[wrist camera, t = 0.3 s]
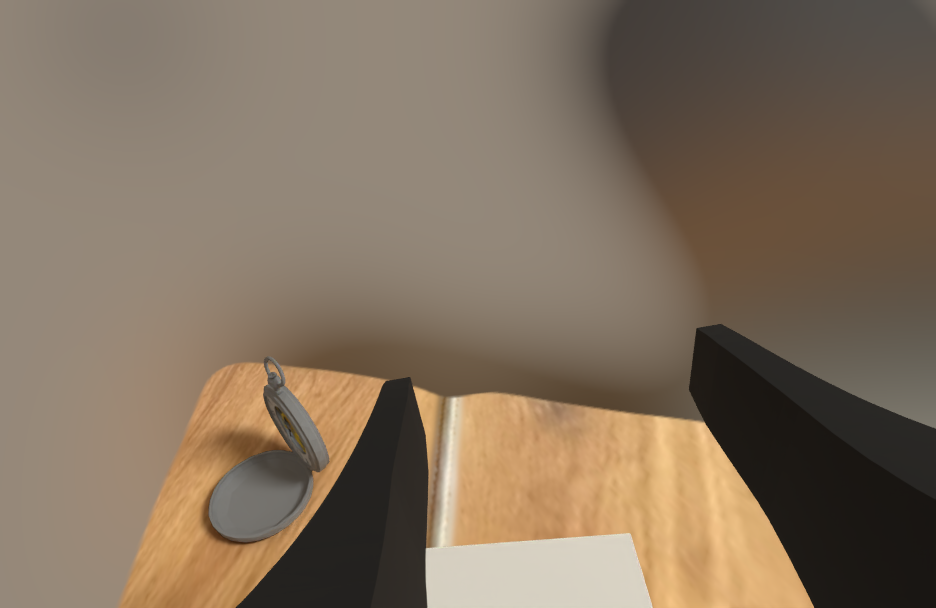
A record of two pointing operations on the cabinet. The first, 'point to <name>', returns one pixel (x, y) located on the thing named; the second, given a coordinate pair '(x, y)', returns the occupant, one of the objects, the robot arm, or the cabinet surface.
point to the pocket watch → (271, 473)
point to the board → (538, 574)
